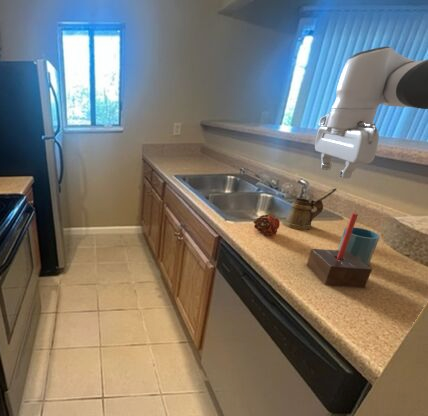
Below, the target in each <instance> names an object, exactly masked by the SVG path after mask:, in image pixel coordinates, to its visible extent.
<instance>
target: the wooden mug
mask: <svg viewBox="0 0 428 416" xmlns="http://www.w3.org/2000/svg"><path fill="white" fill-rule="evenodd" d="M337 190H338V189H337V188H336V187H335V188H332V189H330V190H328V191H327V192H326V193H324V194H322V195H321V196H320V197H319V198H317V199H308V198H304V197H296V198H295V199H294V201H292V203H291V206H290V210H289V211H288V215H287V217H286V218H285V220H284V223H283V224H284V225H285V226H286V227H288V228H291V229H295V230H299V231H300V230H302V231H304V230H305V231H306V230H309V229H311V228H312V222H313V220H314V219H315V218H316V217H317V216H319V215H320V214H321V213H322V211H323V210H324V203H323V200H325V199H326V198H328V197H330V196H331V195H332V194H334V193H336V191H337ZM314 207H315V208H316V210H315V211H312V210H314V209H315V208H314Z"/></svg>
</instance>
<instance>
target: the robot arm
mask: <svg viewBox="0 0 428 416" xmlns="http://www.w3.org/2000/svg"><path fill="white" fill-rule="evenodd" d="M335 94H336V95H335V100H334V102H333V104H332V106H331V108H330V112H328V113H327V114H325V115H323V116H321V117H320V118H319V120H318V124H317V125H318V126H319V128H318V129H317V133H316V136H315V141H314V150H315V152H318V153H321V154H320V158H321V165H320V169H321V170H323V171H330V170H331V168H332V163H331V159H332V158H333V157H334V158H337V159H340V160H343V161H345V164H344V165H345V167H344V169H342V170H340V174H339V177H340V178H342V179H348V180H349V179H351V177H352V175H353V173H354V171H355V170H357V168H358V167H359V165H360V164H364V165H365V164H367V165H369V164H371V163H372V162H373V161H374V159H375V156H376V154H377V150H378V145H379V140H380V134H379V129H378V128H377V126H376V123H374V121H375V117H376V114H377V111H378V108H379V106H380V105H384V106H387V107H400V108H402V107H403V108H414V109H421V110H428V58H427V59H421V60H417V61H416V60H415V59H411V58H408V57H405V56H404V55H401V54H400V53H398V52H397V51H395V49H394V48H393V47H391V46H380V47H376V48H375V47H374V48H370V49H367V50H363V51H359V52H357V53H355V54H353V55H351V56H350V57H349V58H348V59H347V60H346V62H345V64H344V66H343V68H342V71H341V73H340V76H339V79H338V83H337V86H336V89H335Z"/></svg>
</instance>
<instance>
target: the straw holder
mask: <svg viewBox="0 0 428 416" xmlns="http://www.w3.org/2000/svg"><path fill="white" fill-rule="evenodd" d="M338 253H339V250H338V249H322V248H321V249H320V248H311V249H310V253H309V255H308V260H307V262H306V266H307V267H308V268H309V269H310V270H311V272H312V273H313V274H315V276H316V277H317V278H318V279H319V280H320V281H321V282H322V283H323V284H324V285H328V286H341V287H353V288H365V287H366V285H367V283H368V281H369V277H370V276H371V273H372V270H373V269H372V268H371V267H369V265H368V266H367V265H366V264H364V263H363V262H362V261H360V260H359V259H358V258H356V257H355V256H354V255H352V254H351V253H350V252H348V251H345V253H344V256H343V259H342V260H337V256H338Z"/></svg>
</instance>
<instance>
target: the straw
mask: <svg viewBox="0 0 428 416" xmlns="http://www.w3.org/2000/svg"><path fill="white" fill-rule="evenodd" d="M358 217H359V213H356V212H352V213H351V216H350V219H349V222H348V225H347V227H346V228H347V230H346V233H345V236H344V239H343V242H342V245H341V248H340V250H339V253H338V256H337V260H342V259H343V256H344V253H345V250H346V247H347V244H348V242H349V239H350V236H351V233H352V230H353V227H355V224H356V221H357V219H358Z"/></svg>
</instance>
